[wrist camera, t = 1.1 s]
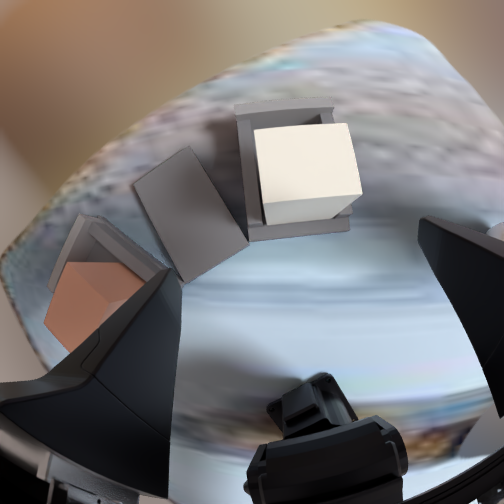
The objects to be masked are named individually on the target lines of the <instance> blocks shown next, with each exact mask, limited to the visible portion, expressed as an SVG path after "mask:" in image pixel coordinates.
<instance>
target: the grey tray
mask: <svg viewBox="0 0 504 504" xmlns="http://www.w3.org/2000/svg"><path fill="white" fill-rule="evenodd" d="M234 109H235V116H236V120H237V121H236V123H237V132H238V142H239V151H240V160H241V170H242V179H243V188H244V197H245V207H246V216H247V225H248V234H249V241H250V242H255V241H264V240H273V239H281V238H290V237H299V236H308V235H318V234H327V233H336V232H346V231H349V230H350V226H349V219H348V216H350V215H351V214H353V211H352V205H351V204H349V205H348V206H347V207H345V208H344V209H343V210H342V211H340V212H339V213H338V214H336V215H335V216H334V217H333V218H331V219H323V220H313V221H303V222H294V223H285V224H276V225H267V222H266V217H265V211H264V206H263V199H262V190H261V182H260V174H259V166H258V158H257V151H256V143H255V135H254V130H257V129H266V128H275V127H286V126H298V125H314V124H335V123H334V119H333V115H332V112H333V109H334V104H333V101H332V97H312V98H293V99H280V100H269V101H260V102H252V103H244V104H237V105H234ZM133 185H134V187H135V189H136V191H137V193H138V195H139V197H140V199H141V201H142V203H143V205H144V207H145V209H146V211H147V213H148V215H149V217H150V219H151V221H152V223H153V225H154V227H155V229H156V231H157V233H158V235H159V237H160V239H161V241H162V242H163V244H164V246H165V248H166V250H167V252H168V254H169V255H170V257H171V259H172V261H173V263H174V265H175V266H176V268H177V270H178V272H179V273H180V275H181V277H182V278H181V277H180V276H178V275H177V274H176V273H175V274H176V277H177V279H178V281H179V283H180V286H181V289H182V288H183V286H184V285H185V283H189V282H191V281H192V280H194V279H196V278H197V277H199V276H201V275H202V274H204V273H205V272H207V271H209V270H210V269H212V268H213V267H215V266H217V265H218V264H220V263H222V262H223V261H225V260H226V259H228V258H230V257H231V256H233V255H235V254H236V253H238V252H239V251H241V250H243V249H244V248H246V247H248V246H249V245H250V244H249V242H248V241H247V239H246V237H245V236H244V234H243V232H242V231H241V229H240V227H239V226H238V224H237V223H236V221H235V219H234V218H233V216H232V214H231V213H230V211H229V209H228V208H227V206H226V204H225V203H224V201H223V200H222V198H221V196H220V195H219V193H218V191H217V190H216V188H215V186H214V185H213V183H212V181H211V180H210V178H209V177H208V175H207V173H206V172H205V170H204V168H203V167H202V165H201V163H200V162H199V160H198V159H197V157H196V155H195V154H194V152H193V150H192V149H191V148H190V146H188V147H186V148H185V149H183V150H182V151H180V152H179V153H177V154H176V155H174V156H173V157H171V158H170V159H168V160H167V161H165V162H164V163H162V164H161V165H159V166H158V167H156V168H155V169H154V170H152V171H151V172H149V173H148V174H147V175H145V176H144V177H142V178H141V179H140V180H138V181H137V182H136V183H134V184H133ZM67 262H111V263H124V264H125V265H126V266H128V267H129V268H130V269H131V270H132V271H134V272H135V273H136V274H137V275H139V276H140V277H141V278H142V279H144V280H145V281H146V282H147V281H149V280H150V279H151V278H152V277H153V276H154V275H155V274H156V273H158V272H159V271H160V270H162V269H166V268H168V267H166V266H165V265H164V264H162V263H161V262H160V261H158V260H157V259H156V258H154V257H153V256H152V255H150V254H149V253H148V252H147V251H145V250H144V249H143V248H141V247H140V246H139V245H138V244H136V243H135V242H134V241H133V240H131V239H130V238H129V237H127V236H126V235H125V234H124V233H123V232H121V231H120V230H119V229H118V228H116V227H115V226H114V225H113V224H111V223H110V222H109V221H108V220H107V219H105V218H104V217H101V216H98V217H97V218H94V217H91V216H87V215H83V214H79V215H78V217H77V219H76V221H75V223H74V225H73V227H72V229H71V231H70V233H69V235H68V237H67V239H66V241H65V244H64V246H63V248H62V250H61V252H60V255H59V257H58V259H57V262H56V264H55V267H54V269H53V271H52V274H51V276H50V279H49V282H48V284H47V287H48V288H49V290H50V291H51V292H52V293H54V292H55V289H56V287H57V284H58V282H59V279H60V277H61V275H62V272H63V270H64V268H65V265H66V263H67Z"/></svg>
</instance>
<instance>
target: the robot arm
mask: <svg viewBox="0 0 504 504" xmlns="http://www.w3.org/2000/svg"><path fill="white" fill-rule="evenodd" d="M418 243H419V245H420V247H421V249H422V251H423V253H424V255H425V257H426V258H427V260H428V262H429V264H430V267H431V269H432V271H433V272H434V274H435V276H436V278H437V280H438V281H439V283H440V285H441V286H442V288H443V290H444V292H445V293H446V295H447V297H448V299H449V300H450V302H451V304H452V306H453V308H454V310H455V312H456V313H457V315H458V317H459V319H460V321H461V323H462V325H463V327H464V329H465V331H466V333H467V335H468V337H469V340H470V342H471V344H472V346H473V348H474V350H475V353H476V355H477V357H478V360H479V362H480V364H481V367H482V370H483V372H484V375H485V377H486V380H487V383H488V385H489V388H490V391H491V394H492V397H493V400H494V403H495V406H496V409H497V412H498V415H499V417H500V419H501V418H503V417H504V241H502V240H499V239H497V238H494V237H491V236H489V235H486V234H483V233H481V232H478V231H475V230H472V229H469V228H466V227H463V226H460V225H457V224H454V223H451V222H448V221H445V220H442V219H439V218H435V217H432V216H426V217H422V218H420V220H419V229H418ZM181 309H182V289H181V286H180V283H179V281H178V279H177V277H176V274H175V272H174V270H173V269H172V268H166V269H162V270H160V271H159V272H158V273H156V274H155V275H154V276H153V277H152V278H151V279H150V280H149V281H147V282H146V283H145V284H144V285H143V286H142V287H141V288H140V289H139V290H138V291H136V292H135V293H134V294H133V295H132V296H131V297H130V298H129V299H128V300H127V301H126V302H124V303H123V304H122V305H121V306H120V307H119V308H118V309H117V310H116V311H115V312H114V313H113V314H112V315H111V316H110V317H108V318H107V319H106V320H105V321H104V322H103V323H102V324H101V325H100V326H99V328H97V329H96V330H95V331H94V332H93V333H92V334H91V335H90V336H89V337H88V338H86V339H85V340H84V341H83V342H82V343H81V344H80V345H79V346H78V347H77V348H76V349H74V350H73V351H72V352H71V353H70V354H69V355H68V356H67V357H65V358H64V359H63V360H62V361H61V362H60V363H59V364H57V365H56V366H55V367H54V368H53V369H52V370H51V371H50V372H48V373H47V374H46V375H44V376H43V377H41V378H38V379H35V380H30V381H17V382H3V383H0V504H139V495H144V496H149V497H155V498H161V499H168V485H169V457H170V436H171V421H172V408H173V397H174V386H175V376H176V367H177V358H178V350H179V341H180V333H181ZM327 378H330V381H326V379H327ZM270 408H275V409H274V410H270ZM267 413H268V414H269V415H270V417H271V418H272V419H273V421H274V422H275V423H276V425H277V426H278V427H279V429H280V430H281V431H282V432H283V440H280V441H274V442H269V443H268V445H267V444H262V445H259V447H258V449H257V451H256V453H255V455H254V457H253V459H252V461H251V463H250V465H249V467H248V469H247V473H246V474H247V481H246V482H245V483H244V485H243V487H244V491H245V492H246V493H247V494H249V495H250V496H251V498H252V501H253V504H469V503H470V502H472V501H474V500H475V499H477V501H478V504H504V445H503V446H502V447H501V448H499V449H497V450H496V451H495V452H493V453H492V454H490V455H489V456H488V457H486V458H485V459H483V460H482V461H480V462H478V463H477V464H475V465H474V466H472V467H471V468H469V469H467V470H466V471H464V472H462V473H460V474H459V475H457V476H455V477H453V478H451V479H450V480H448V481H446V482H444V483H442V484H440V485H438V486H436V487H434V488H432V489H430V490H428V491H425V492H423V493H421V494H419V495H416V496H414V497H412V498H409V499H407V500H404V501H403V493H402V488H403V479H402V476H403V475H405V474H406V473H407V470H408V457H407V452H406V448H405V445H404V442H403V440H402V437H401V435H400V433H399V432H398V430H397V429H396V428H395V427H394V426H392V425H391V424H389V423H388V422H386V421H385V420H383V419H382V418H380V417H379V416H377V415H375V416H372V417H366V418H363V419H361V420H358V418H357V416H356V414H355V412H354V411H353V409H352V407H351V406H350V404H349V402H348V401H347V399H346V397H345V396H344V394H343V392H342V391H341V389H340V387H339V386H338V384H337V382H336V381H335V379H334V377H333V376H332V375H331V374H325V375H324V376H322V377H320V378H318V379H317V380H315V381H313V382H311V383H305V384H304V385H302V386H300V387H298V388H296V389H294V390H292V391H290V392H288V393H286V394H284V395H283V396H282V398H281V399H279V400H277V401H274V402H272V403H270V404H269V405H268V406H267ZM353 419H355V420H354V421H352V420H353Z"/></svg>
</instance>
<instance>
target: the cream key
mask: <svg viewBox="0 0 504 504" xmlns="http://www.w3.org/2000/svg"><path fill="white" fill-rule="evenodd" d="M254 135H255V143H256V151H257V158H258V166H259V174H260V182H261V190H262V199H263V206H264V211H265V217H266V222H267V225H276V224H285V223H294V222H303V221H313V220H323V219H331V218H333V217H334V216H335V215H336V214H338V213H339V212H340V211H342V210H343V209H344V208H345V207H347V206H348V205H349V204H351V203H352V202H353V201H354V200H356V199H357V198H358V197H359V196H361V195H362V194H363V193H362V188H361V183H360V178H359V173H358V168H357V163H356V159H355V154H354V150H353V146H352V141H351V137H350V133H349V130H348V126H347V123H339V124H314V125H298V126H286V127H275V128H266V129H257V130H254Z"/></svg>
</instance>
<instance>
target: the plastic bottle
mask: <svg viewBox="0 0 504 504" xmlns="http://www.w3.org/2000/svg"><path fill="white" fill-rule="evenodd" d="M486 235H489V236H491V237H494V238H497V239H499V240H502V241H504V222H502V223H499V224H497V225H495V226H493V227H492V228H490V229H489V230H488V231H487V232H486Z"/></svg>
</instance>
